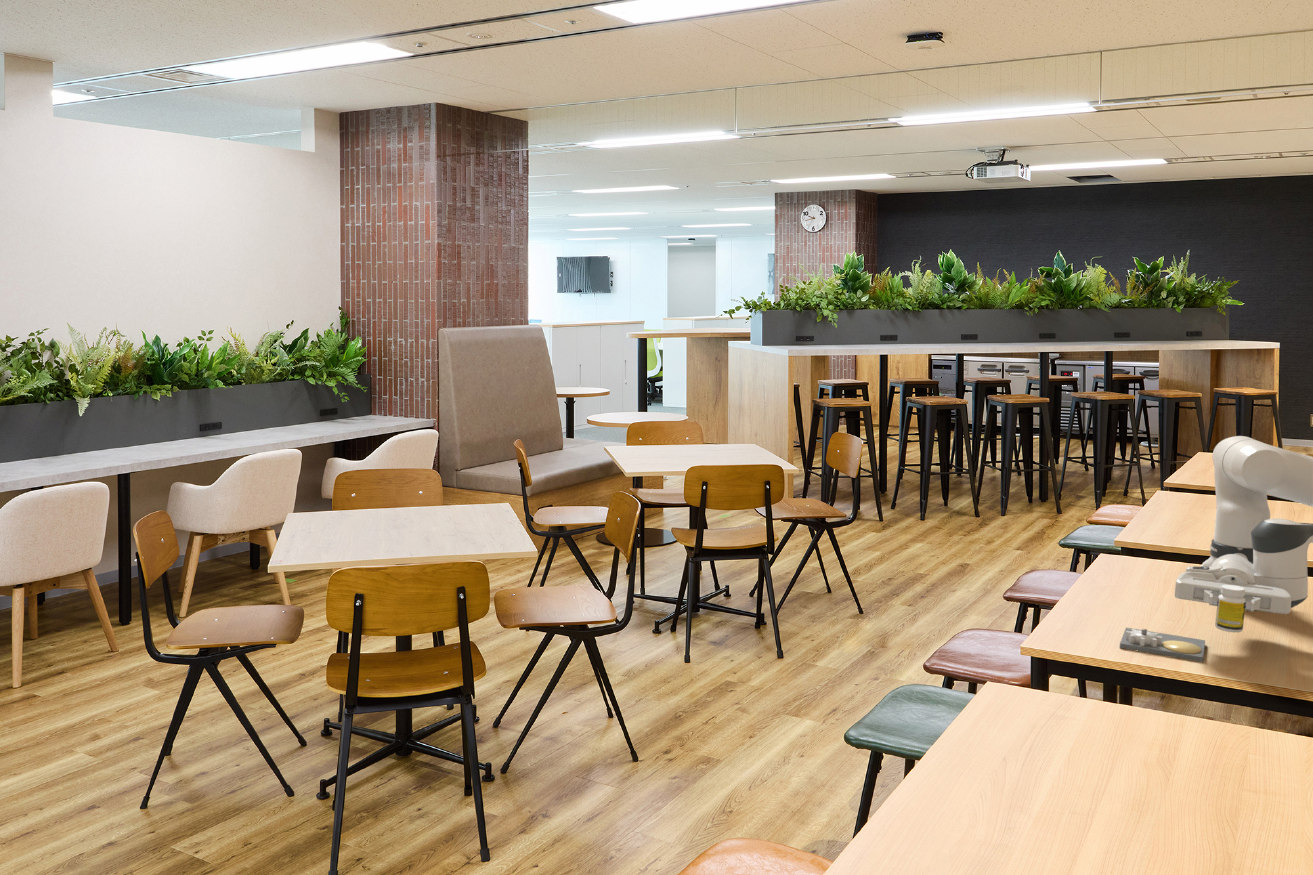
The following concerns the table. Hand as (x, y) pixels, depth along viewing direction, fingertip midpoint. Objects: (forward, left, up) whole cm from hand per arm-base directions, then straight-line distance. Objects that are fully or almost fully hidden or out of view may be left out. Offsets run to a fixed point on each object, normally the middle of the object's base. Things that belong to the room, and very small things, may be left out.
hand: (1231, 604), depth 197 cm
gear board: (-5, -11, -12) cm, 18 cm away
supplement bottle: (-1, 0, -5) cm, 5 cm away
